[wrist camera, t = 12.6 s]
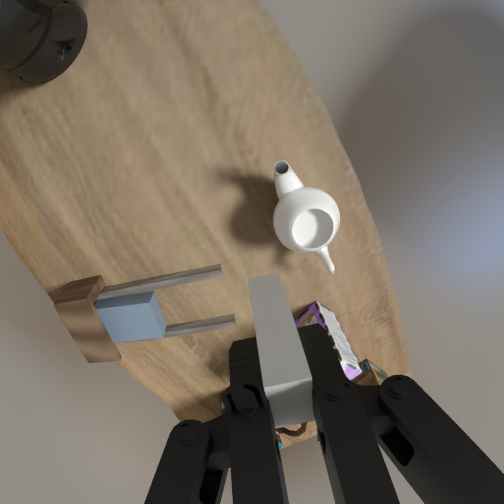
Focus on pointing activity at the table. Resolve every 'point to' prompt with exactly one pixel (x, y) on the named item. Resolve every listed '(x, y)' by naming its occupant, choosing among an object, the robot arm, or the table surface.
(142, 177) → the table surface
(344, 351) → the candy box
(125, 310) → the blue rectangular block
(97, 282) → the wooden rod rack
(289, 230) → the teapot
